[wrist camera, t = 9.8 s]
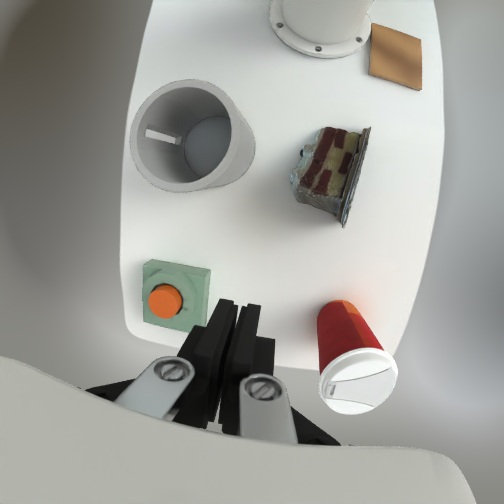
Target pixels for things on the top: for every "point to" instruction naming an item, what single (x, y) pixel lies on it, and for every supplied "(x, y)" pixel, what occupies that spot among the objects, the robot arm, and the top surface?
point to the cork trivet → (395, 56)
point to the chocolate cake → (330, 171)
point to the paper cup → (351, 361)
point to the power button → (165, 301)
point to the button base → (188, 285)
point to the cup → (178, 125)
